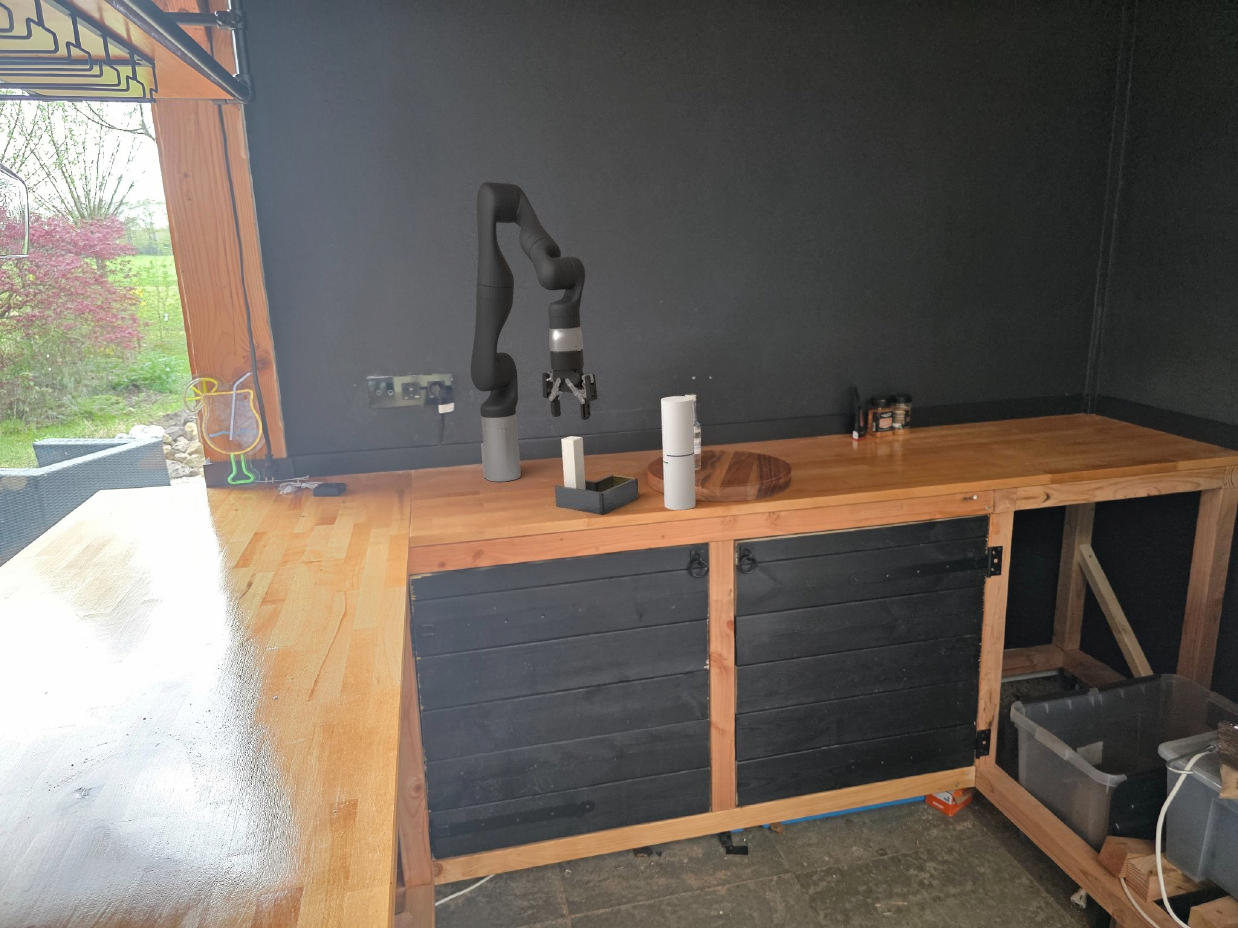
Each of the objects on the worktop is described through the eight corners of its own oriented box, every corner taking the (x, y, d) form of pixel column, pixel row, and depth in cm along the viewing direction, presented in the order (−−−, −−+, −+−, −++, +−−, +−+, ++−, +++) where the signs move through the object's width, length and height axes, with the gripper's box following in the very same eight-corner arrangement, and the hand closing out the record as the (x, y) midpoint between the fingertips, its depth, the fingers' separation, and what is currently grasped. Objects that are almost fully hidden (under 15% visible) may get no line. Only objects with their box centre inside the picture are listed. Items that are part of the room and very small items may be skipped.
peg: (565, 504, 199) (561, 439, 195) (574, 500, 202) (570, 436, 198) (577, 506, 197) (573, 440, 193) (586, 502, 200) (582, 437, 196)
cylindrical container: (684, 511, 190) (681, 402, 184) (658, 507, 194) (654, 400, 188) (701, 503, 196) (698, 397, 189) (675, 499, 200) (672, 395, 194)
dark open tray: (556, 506, 199) (554, 486, 197) (593, 490, 210) (592, 471, 208) (602, 514, 191) (601, 493, 189) (638, 498, 202) (637, 478, 201)
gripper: (531, 349, 192) (537, 418, 196) (580, 350, 184) (585, 423, 188) (552, 345, 198) (557, 412, 202) (601, 346, 189) (605, 417, 193)
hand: (571, 417), depth 195 cm, fingers open, 8 cm apart
